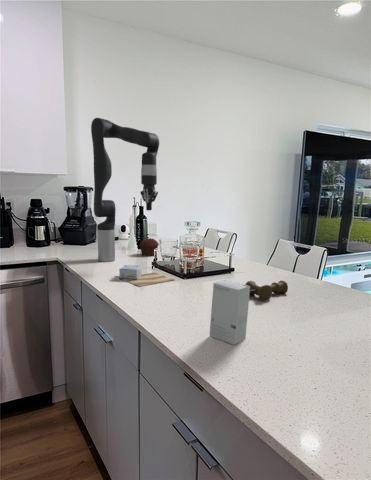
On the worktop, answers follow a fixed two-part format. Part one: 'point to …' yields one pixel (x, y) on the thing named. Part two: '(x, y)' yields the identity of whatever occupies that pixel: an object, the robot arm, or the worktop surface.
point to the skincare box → (229, 311)
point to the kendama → (267, 289)
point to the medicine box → (130, 272)
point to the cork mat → (149, 279)
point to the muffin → (148, 247)
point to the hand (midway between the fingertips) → (148, 210)
